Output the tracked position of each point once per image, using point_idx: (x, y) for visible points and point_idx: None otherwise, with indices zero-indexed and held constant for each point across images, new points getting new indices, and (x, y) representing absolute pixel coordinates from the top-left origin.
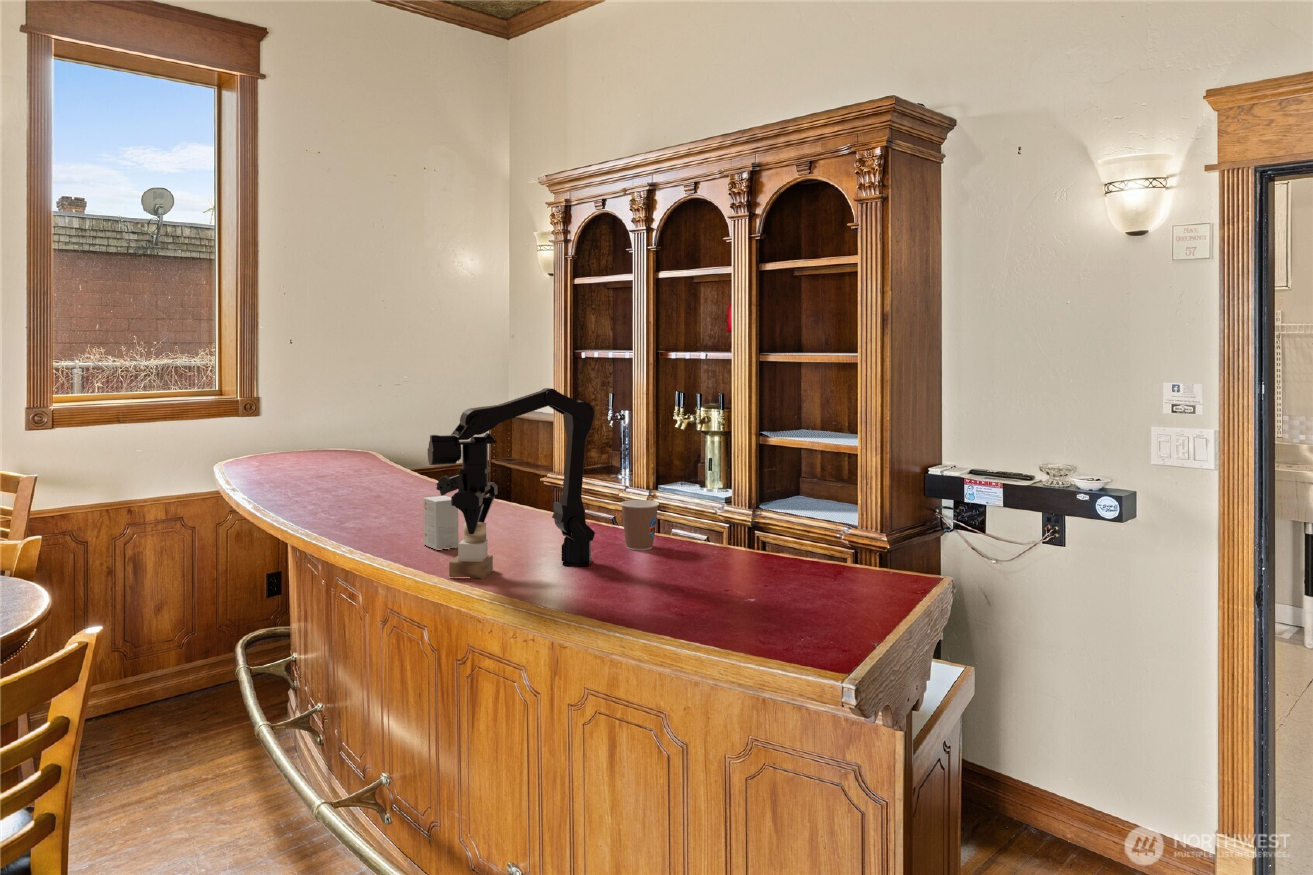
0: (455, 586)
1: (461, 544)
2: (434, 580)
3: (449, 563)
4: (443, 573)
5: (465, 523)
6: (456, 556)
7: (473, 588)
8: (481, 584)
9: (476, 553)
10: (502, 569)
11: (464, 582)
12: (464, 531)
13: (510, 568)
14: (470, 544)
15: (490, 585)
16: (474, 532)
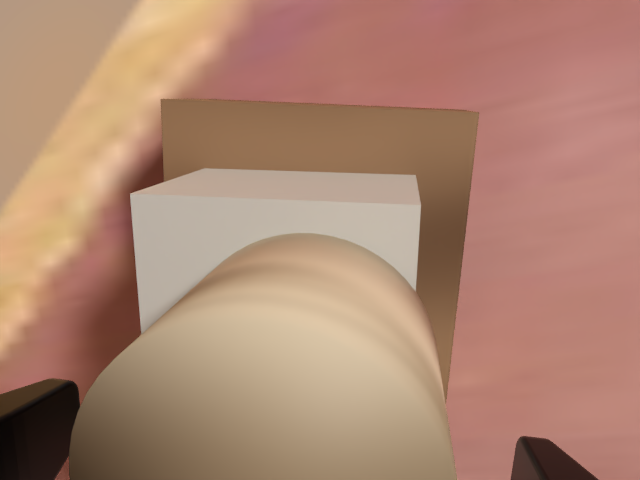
0: (33, 187)
1: (135, 231)
2: (142, 8)
3: (164, 101)
4: (338, 17)
5: (273, 334)
6: (383, 109)
7: (15, 296)
8: (98, 326)
9: None
10: (462, 406)
11: (124, 222)
12: (202, 288)
13: (489, 451)
14: (143, 328)
15: (87, 376)
16: (64, 452)
